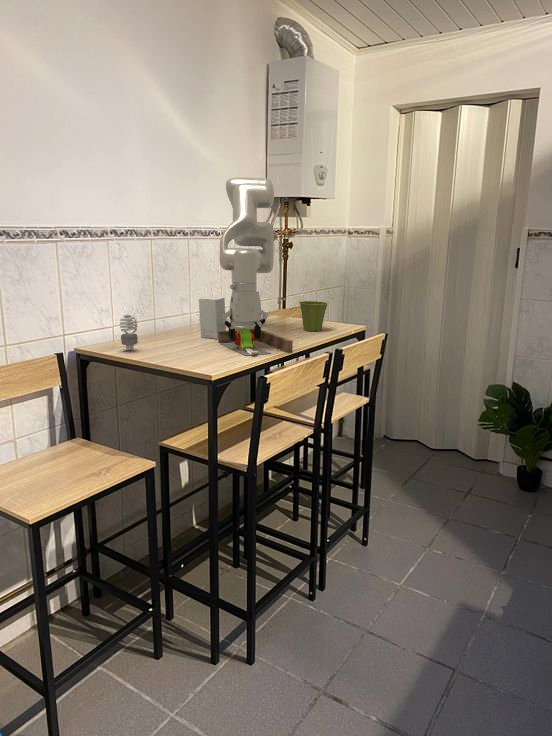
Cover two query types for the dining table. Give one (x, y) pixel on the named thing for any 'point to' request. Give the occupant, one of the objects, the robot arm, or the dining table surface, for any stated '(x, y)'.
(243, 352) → the mat
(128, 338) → the light bulb
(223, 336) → the wall
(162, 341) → the dining table surface
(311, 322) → the plant pot
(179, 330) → the dining table surface
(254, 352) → the toy measuring tape
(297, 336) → the dining table surface
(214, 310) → the skincare box
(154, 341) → the dining table surface
